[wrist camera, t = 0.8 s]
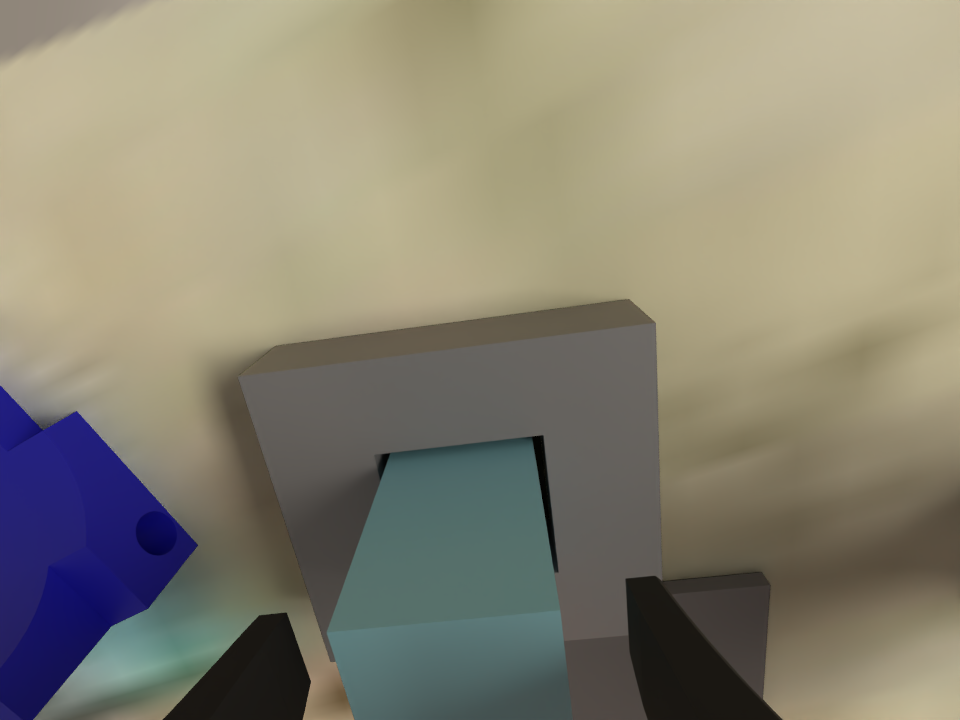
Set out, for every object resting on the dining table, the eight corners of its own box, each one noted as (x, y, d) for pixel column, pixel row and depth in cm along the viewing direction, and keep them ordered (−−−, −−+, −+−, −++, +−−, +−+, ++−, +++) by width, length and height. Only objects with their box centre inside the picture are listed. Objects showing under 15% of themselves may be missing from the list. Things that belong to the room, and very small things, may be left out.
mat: (761, 572, 18) (770, 585, 17) (751, 744, 21) (758, 760, 20) (508, 596, 19) (509, 609, 18) (534, 760, 22) (535, 776, 21)
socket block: (629, 299, 15) (655, 322, 12) (640, 572, 18) (663, 632, 16) (276, 346, 15) (237, 376, 13) (350, 600, 19) (330, 662, 16)
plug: (526, 405, 16) (560, 610, 8) (539, 511, 17) (578, 769, 10) (402, 420, 16) (326, 632, 9) (424, 524, 18) (375, 784, 10)
